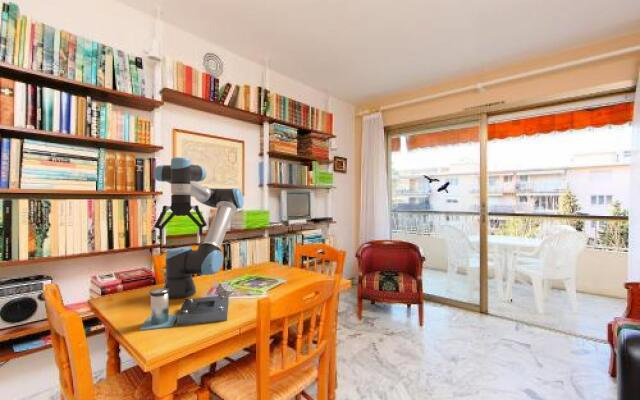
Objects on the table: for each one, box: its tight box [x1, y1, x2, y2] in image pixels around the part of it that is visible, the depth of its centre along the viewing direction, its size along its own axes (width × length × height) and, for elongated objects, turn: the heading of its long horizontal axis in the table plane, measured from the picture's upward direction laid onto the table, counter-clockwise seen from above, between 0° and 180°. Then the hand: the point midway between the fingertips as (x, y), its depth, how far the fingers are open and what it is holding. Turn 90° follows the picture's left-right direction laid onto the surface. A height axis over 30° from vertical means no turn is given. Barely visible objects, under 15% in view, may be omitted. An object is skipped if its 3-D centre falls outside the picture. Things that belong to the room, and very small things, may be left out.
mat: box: [139, 313, 178, 331], centre depth 113 cm, size 11×11×1 cm
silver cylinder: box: [149, 287, 170, 325], centre depth 113 cm, size 7×7×12 cm
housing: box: [176, 295, 230, 327], centre depth 121 cm, size 18×18×5 cm
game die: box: [215, 281, 235, 297], centre depth 139 cm, size 9×8×10 cm
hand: (181, 243), depth 125 cm, fingers open, 13 cm apart
